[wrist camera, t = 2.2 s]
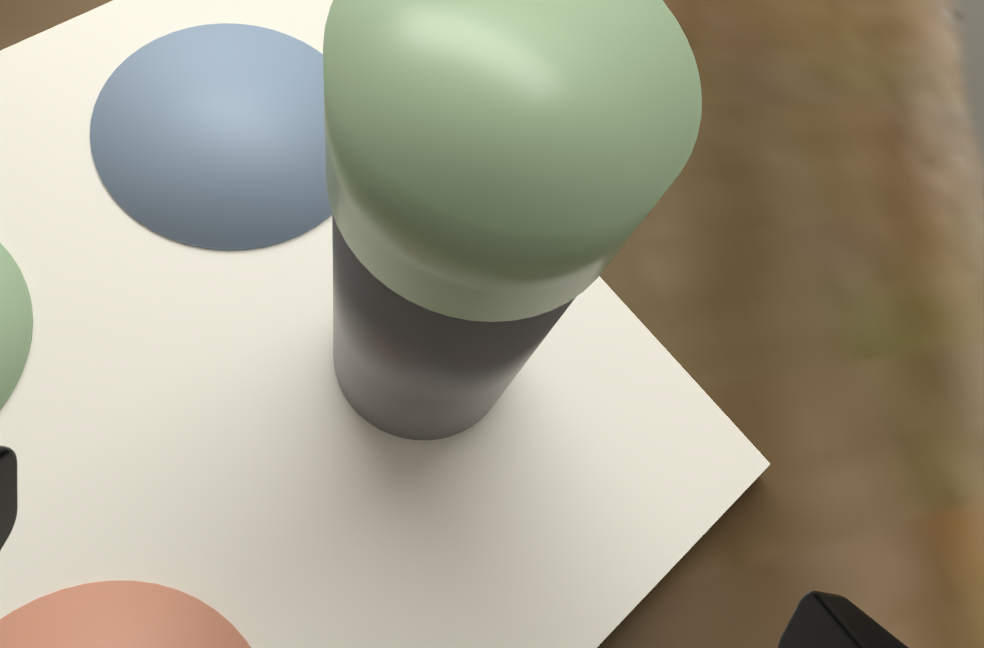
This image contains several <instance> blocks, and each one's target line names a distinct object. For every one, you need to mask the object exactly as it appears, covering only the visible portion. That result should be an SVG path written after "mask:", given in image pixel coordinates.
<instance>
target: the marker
mask: <svg viewBox="0 0 984 648" xmlns="http://www.w3.org/2000/svg"><path fill="white" fill-rule="evenodd" d="M323 74H324V119H325V164H326V185H327V194H328V198H329V203H330V207H331V211H332V245H333V356H334V367H335V372H336V377H337V380H338V382H339V385H340V388H341V390H342V392H343V394H344V395H345V397H346V399H347V400H348V402H349V403H350V404H351V406H352V407H353V408H354V409H355V410H356V412H357V413H358V414H359V415H360V416H361V417H363V418H364V419H365V420H366V421H367V422H369V423H370V424H372V425H373V426H375V427H376V428H378V429H380V430H382V431H384V432H386V433H388V434H391V435H394V436H397V437H400V438H405V439H411V440H437V439H442V438H446V437H450V436H453V435H455V434H458V433H461V432H462V431H464V430H466V429H468V428H470V427H471V426H473V425H474V424H476V423H477V422H478V421H480V420H481V419H482V418H483V417H484V416H485V415H486V414H487V413H488V412H489V410H490V409H491V408H492V407H493V405H494V404H495V403H496V402H497V400H498V399H499V398H500V396H501V395H502V394H503V392H504V391H505V390H506V388H507V387H508V386H509V384H510V383H511V382H512V381H513V379H514V378H515V377H516V375H517V374H518V373H519V371H520V370H521V369H522V367H523V366H524V365H525V363H526V362H527V361H528V360H529V358H530V357H531V356H532V354H533V353H534V352H535V350H536V349H537V348H538V346H539V345H540V344H541V342H542V341H543V340H544V339H545V337H546V336H547V335H548V333H549V332H550V331H551V329H552V328H553V327H554V325H555V324H556V323H557V321H558V320H559V319H560V318H561V316H562V315H563V314H564V312H565V311H566V310H567V308H568V307H569V306H570V304H571V303H572V302H573V300H574V299H575V298H576V297H577V296H578V295H579V294H581V293H582V292H584V291H585V290H586V289H587V288H588V287H589V286H590V285H591V284H592V283H593V282H594V281H595V280H596V279H597V278H598V277H599V276H600V274H601V273H602V272H603V271H604V269H605V268H606V267H607V266H608V264H609V263H610V262H611V260H612V259H613V258H614V257H615V255H616V254H617V253H618V252H619V250H620V249H621V248H622V246H623V245H624V244H625V243H626V241H627V240H628V239H629V237H630V236H631V235H632V234H633V232H634V231H635V230H636V229H637V227H638V226H639V225H640V223H641V222H642V221H643V220H644V218H645V217H646V216H647V215H648V213H649V212H650V211H651V209H652V208H653V207H654V206H655V204H656V203H657V202H658V200H659V199H660V198H661V197H662V195H663V194H664V193H665V192H666V190H667V189H668V188H669V186H670V185H671V184H672V183H673V181H674V180H675V179H676V177H677V176H678V175H679V174H680V172H681V171H682V169H683V167H684V166H685V164H686V162H687V160H688V158H689V157H690V155H691V153H692V150H693V147H694V144H695V141H696V139H697V136H698V131H699V126H700V120H701V109H702V93H701V85H700V77H699V73H698V69H697V65H696V61H695V58H694V55H693V52H692V50H691V48H690V45H689V43H688V40H687V38H686V36H685V34H684V32H683V31H682V29H681V27H680V25H679V24H678V22H677V20H676V18H675V17H674V16H673V14H672V13H671V11H670V10H669V9H668V7H667V6H666V5H665V3H664V2H663V1H662V0H333V2H332V4H331V6H330V10H329V13H328V17H327V21H326V24H325V31H324V42H323Z"/></svg>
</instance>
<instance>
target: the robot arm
mask: <svg viewBox="0 0 984 648" xmlns="http://www.w3.org/2000/svg"><path fill="white" fill-rule="evenodd" d="M17 509H18V489H17V456H16V454H15V452H14V451H13V450H12V449H11V448H9V447H6V446H1V445H0V551H1V549H2V547H3V546H4V544H5V542H6V540H7V539H8V537H9V535H10V533H11V532H12V529H13V527H14V524H15V521H16V517H17ZM778 648H908V647H907V646H906V645H904V644H903V643H902V642H900V641H899V640H898V639H897V638H895V637H894V636H893V635H892V634H890V633H889V632H888V631H887V630H885V629H884V628H883V627H882V626H880V625H879V624H878V623H877V622H875V621H874V620H873V619H872V618H870V617H869V616H868V615H867V614H865V613H864V612H863V611H862V610H860V609H859V608H858V607H857V606H855V605H854V604H853V603H852V602H850V601H849V600H848V599H846V598H845V597H843V596H840V595H836V594H830V593H825V592H819V591H810V592H807V593H806V594H805V595H804V596H803V597H802V598H801V600H800V602H799V604H798V605H797V607H796V609H795V611H794V613H793V615H792V617H791V619H790V621H789V623H788V625H787V626H786V628H785V630H784V632H783V634H782V636H781V638H780V641H779V645H778Z"/></svg>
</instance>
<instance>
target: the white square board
mask: <svg viewBox="0 0 984 648" xmlns="http://www.w3.org/2000/svg"><path fill="white" fill-rule="evenodd" d="M332 2H333V0H113V1H111V2H109V3H106V4H104V5H102V6H100V7H97V8H95V9H93V10H91V11H88V12H86V13H84V14H82V15H79V16H77V17H75V18H73V19H71V20H68V21H66V22H64V23H62V24H59V25H57V26H55V27H53V28H50V29H48V30H46V31H44V32H41V33H39V34H37V35H35V36H32V37H30V38H28V39H26V40H23V41H21V42H19V43H17V44H14V45H12V46H10V47H8V48H5V49H3V50H1V51H0V445H1V446H6V447H9V448H11V449H12V450H13V451H14V452H15V454H16V456H17V489H18V509H17V517H16V521H15V524H14V527H13V529H12V532H11V533H10V535H9V537H8V539H7V540H6V542H5V544H4V546H3V547H2V549H1V551H0V648H597V647H598V646H599V645H600V644H601V643H602V642H603V641H604V640H605V638H606V637H607V636H608V635H609V634H610V633H611V632H612V631H613V630H614V629H615V628H616V627H617V626H618V625H619V624H620V623H621V622H622V620H623V619H624V618H625V617H626V616H627V615H628V614H629V613H630V612H631V611H632V610H633V609H634V608H635V607H636V606H637V605H638V604H639V603H640V601H641V600H642V599H643V598H644V597H645V596H646V595H647V594H648V593H649V592H650V591H651V590H652V589H653V588H654V587H655V586H656V585H657V583H658V582H659V581H660V580H661V579H662V578H663V577H664V576H665V575H666V574H667V573H668V572H669V571H670V570H671V569H672V568H673V567H674V565H675V564H676V563H677V562H678V561H679V560H680V559H681V558H682V557H683V556H684V555H685V554H686V553H687V552H688V551H689V550H690V549H691V547H692V546H693V545H694V544H695V543H696V542H697V541H698V540H699V539H700V538H701V537H702V536H703V535H704V534H705V533H706V532H707V531H708V530H709V528H710V527H711V526H712V525H713V524H714V523H715V522H716V521H717V520H718V519H719V518H720V517H721V516H722V515H723V514H724V513H725V512H726V510H727V509H728V508H729V507H730V506H731V505H732V504H733V503H734V502H735V501H736V500H737V499H738V498H739V497H740V496H741V495H742V494H743V492H744V491H745V490H746V489H747V488H748V487H749V486H750V485H751V484H752V483H753V482H754V481H755V480H756V479H757V478H758V477H759V476H760V474H761V473H762V472H763V471H764V470H765V469H766V468H767V467H768V466H769V465H770V463H769V462H768V461H767V460H766V459H765V457H764V456H763V455H762V454H761V453H760V452H759V451H758V450H757V449H756V448H755V446H754V445H753V444H752V443H751V442H750V441H749V440H748V439H747V438H746V437H745V436H744V434H743V433H742V432H741V431H740V430H739V429H738V428H737V427H736V426H735V425H734V423H733V422H732V421H731V420H730V419H729V418H728V417H727V416H726V415H725V414H724V412H723V411H722V410H721V409H720V408H719V407H718V406H717V405H716V404H715V403H714V402H713V400H712V399H711V398H710V397H709V396H708V395H707V394H706V393H705V392H704V391H703V389H702V388H701V387H700V386H699V385H698V384H697V383H696V382H695V381H694V380H693V378H692V377H691V376H690V375H689V374H688V373H687V372H686V371H685V370H684V369H683V368H682V366H681V365H680V364H679V363H678V362H677V361H676V360H675V359H674V358H673V357H672V355H671V354H670V353H669V352H668V351H667V350H666V349H665V348H664V347H663V346H662V344H661V343H660V342H659V341H658V340H657V339H656V338H655V337H654V336H653V335H652V333H651V332H650V331H649V330H648V329H647V328H646V327H645V326H644V325H643V324H642V323H641V321H640V320H639V319H638V318H637V317H636V316H635V315H634V314H633V313H632V312H631V310H630V309H629V308H628V307H627V306H626V305H625V304H624V303H623V302H622V301H621V299H620V298H619V297H618V296H617V295H616V294H615V293H614V292H613V291H612V290H611V289H610V287H609V286H608V285H607V284H606V283H605V282H604V281H603V280H602V279H601V278H600V276H599V277H598V278H597V279H596V280H595V281H594V282H593V283H592V284H591V285H590V286H589V287H588V288H587V289H586V290H585V291H584V292H582V293H581V294H579V295H578V296H577V297H576V298H575V299H574V300H573V302H572V303H571V304H570V306H569V307H568V308H567V310H566V311H565V312H564V314H563V315H562V316H561V318H560V319H559V320H558V321H557V323H556V324H555V325H554V327H553V328H552V329H551V331H550V332H549V333H548V335H547V336H546V337H545V339H544V340H543V341H542V342H541V344H540V345H539V346H538V348H537V349H536V350H535V352H534V353H533V354H532V356H531V357H530V358H529V360H528V361H527V362H526V363H525V365H524V366H523V367H522V369H521V370H520V371H519V373H518V374H517V375H516V377H515V378H514V379H513V381H512V382H511V383H510V384H509V386H508V387H507V388H506V390H505V391H504V392H503V394H502V395H501V396H500V398H499V399H498V400H497V402H496V403H495V404H494V405H493V407H492V408H491V409H490V410H489V412H488V413H487V414H486V415H485V416H484V417H483V418H482V419H481V420H480V421H478V422H477V423H476V424H474V425H473V426H471V427H470V428H468V429H466V430H464V431H462V432H461V433H458V434H455V435H453V436H450V437H446V438H442V439H437V440H411V439H405V438H400V437H397V436H394V435H391V434H388V433H386V432H384V431H382V430H380V429H378V428H376V427H375V426H373V425H372V424H370V423H369V422H367V421H366V420H365V419H364V418H363V417H361V416H360V415H359V414H358V413H357V412H356V410H355V409H354V408H353V407H352V406H351V404H350V403H349V402H348V400H347V399H346V397H345V395H344V394H343V392H342V390H341V388H340V385H339V382H338V380H337V377H336V372H335V367H334V356H333V245H332V211H331V207H330V203H329V198H328V194H327V185H326V164H325V119H324V74H323V42H324V31H325V24H326V21H327V17H328V13H329V10H330V6H331V4H332Z"/></svg>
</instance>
